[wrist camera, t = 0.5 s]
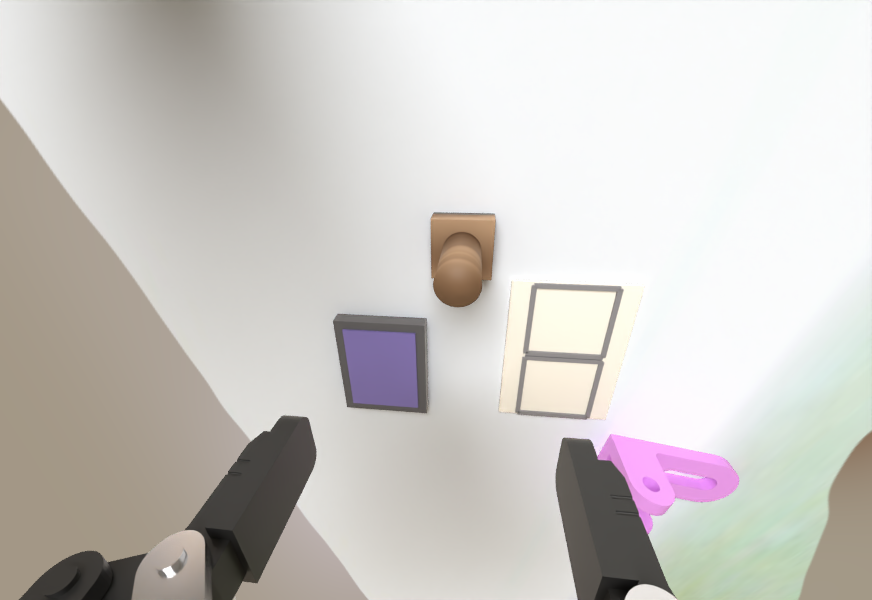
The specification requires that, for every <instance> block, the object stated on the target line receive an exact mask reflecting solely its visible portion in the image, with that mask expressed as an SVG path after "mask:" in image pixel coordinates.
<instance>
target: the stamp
mask: <svg viewBox="0 0 872 600" xmlns="http://www.w3.org/2000/svg"><path fill="white" fill-rule="evenodd" d="M494 235H495V214H485V213H433V216H432V218H431V274H432V278H434V282H433V288H434V292H435V294H436V296H437V297H438V298H439V299H440V300H441V301H442V302H443V303H445V304H447V305H449V306H452V307H464V306H467V305H470V304H472V303H473V302H474V301H475V300H476V299H477V298H478V297H479V295H480V293H481V290H482V280H491V277H492V263H493V249H494Z"/></svg>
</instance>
